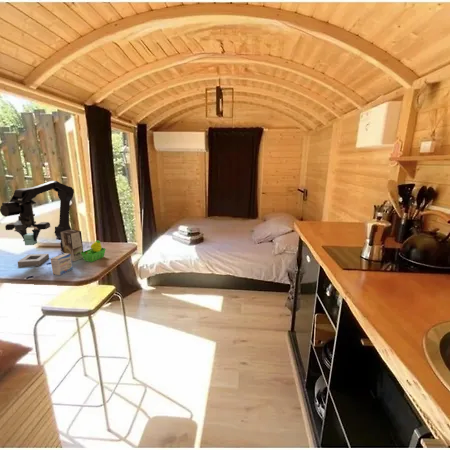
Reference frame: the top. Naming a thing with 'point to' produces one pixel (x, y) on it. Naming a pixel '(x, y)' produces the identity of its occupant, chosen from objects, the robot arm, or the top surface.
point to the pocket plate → (33, 259)
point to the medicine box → (61, 263)
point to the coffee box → (72, 243)
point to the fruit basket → (94, 252)
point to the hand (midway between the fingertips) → (30, 241)
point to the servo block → (29, 239)
